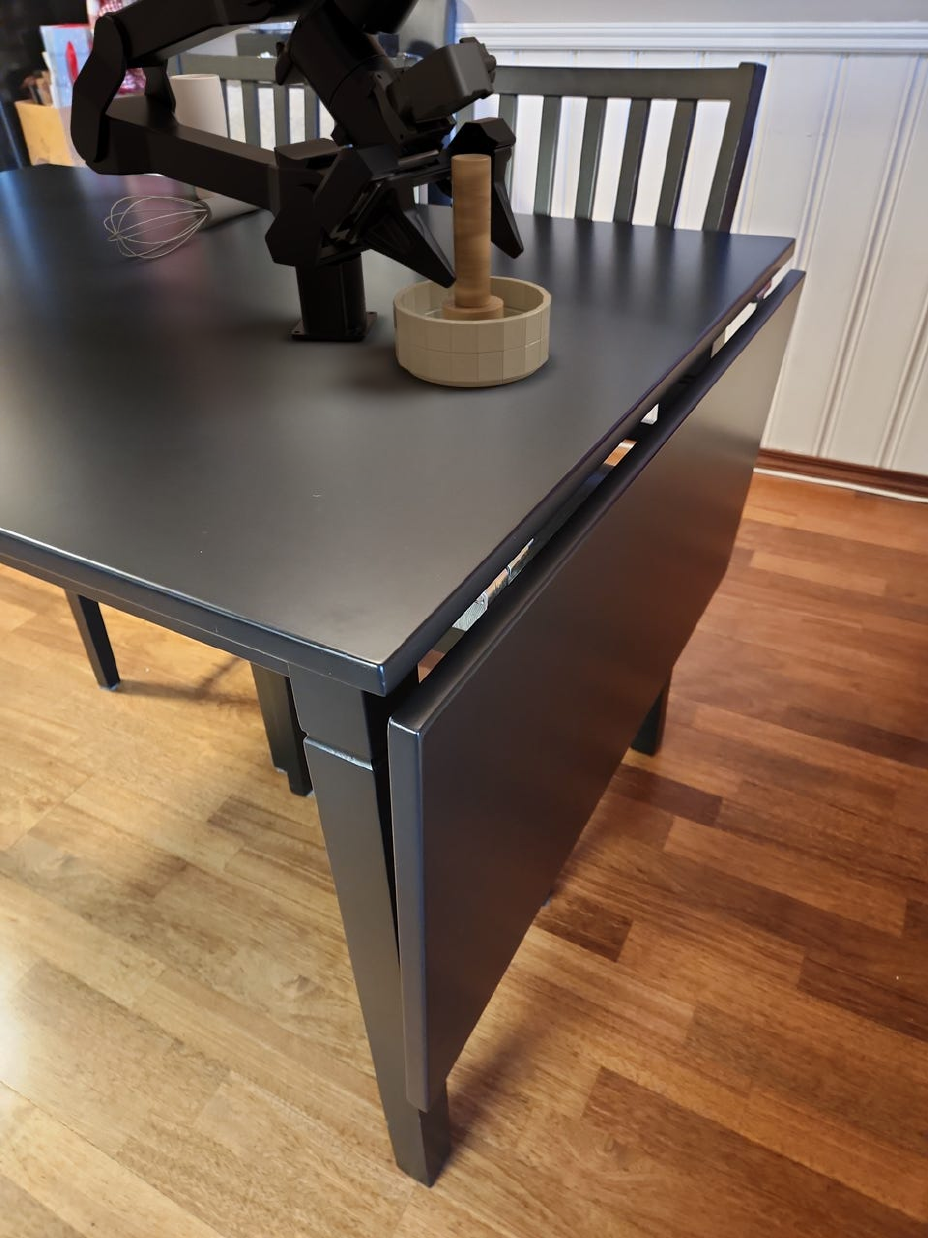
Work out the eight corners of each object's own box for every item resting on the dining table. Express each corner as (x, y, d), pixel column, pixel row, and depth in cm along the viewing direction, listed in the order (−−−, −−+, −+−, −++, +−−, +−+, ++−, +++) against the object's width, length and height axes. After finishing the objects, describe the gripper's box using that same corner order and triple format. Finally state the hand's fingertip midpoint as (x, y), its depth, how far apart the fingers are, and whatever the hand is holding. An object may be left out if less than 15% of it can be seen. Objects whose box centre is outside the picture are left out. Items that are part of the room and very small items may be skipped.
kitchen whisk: (289, 205, 116) (282, 154, 112) (148, 271, 91) (132, 208, 87) (250, 203, 117) (242, 153, 114) (101, 267, 92) (84, 205, 88)
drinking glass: (183, 201, 119) (157, 77, 110) (207, 192, 124) (185, 73, 115) (224, 204, 117) (202, 78, 108) (248, 194, 122) (228, 73, 113)
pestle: (446, 365, 64) (440, 163, 56) (440, 344, 68) (434, 152, 60) (507, 361, 65) (510, 161, 56) (497, 341, 69) (499, 150, 60)
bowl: (545, 392, 62) (548, 324, 58) (385, 388, 63) (379, 321, 60) (549, 336, 71) (552, 276, 68) (410, 334, 72) (407, 274, 69)
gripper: (323, -8, 48) (482, 219, 50) (496, -13, 60) (619, 170, 62) (251, 138, 56) (389, 328, 58) (415, 108, 68) (526, 266, 70)
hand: (487, 268), depth 62 cm, fingers open, 9 cm apart
